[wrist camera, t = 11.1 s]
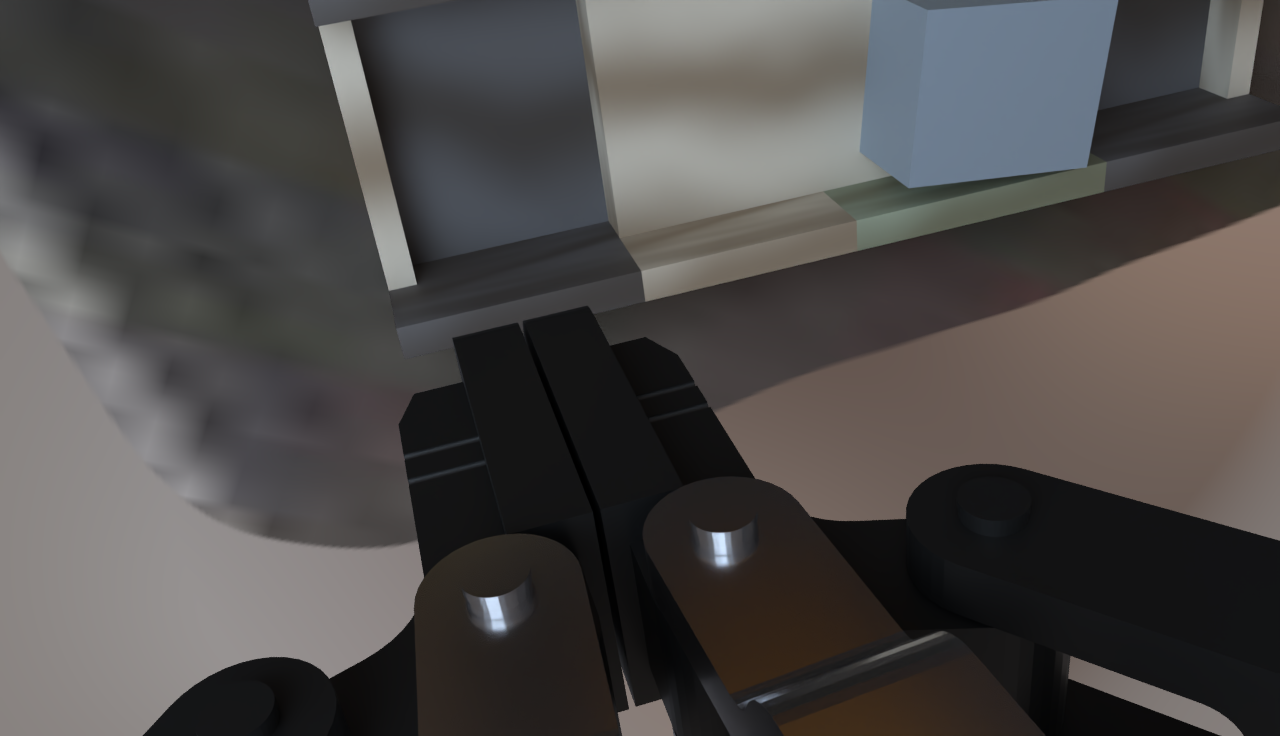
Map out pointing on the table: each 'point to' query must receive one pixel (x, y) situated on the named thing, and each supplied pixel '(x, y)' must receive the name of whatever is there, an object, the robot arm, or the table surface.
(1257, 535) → the robot arm
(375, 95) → the trap lane
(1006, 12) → the slate block
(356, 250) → the table surface
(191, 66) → the table surface
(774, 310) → the table surface
